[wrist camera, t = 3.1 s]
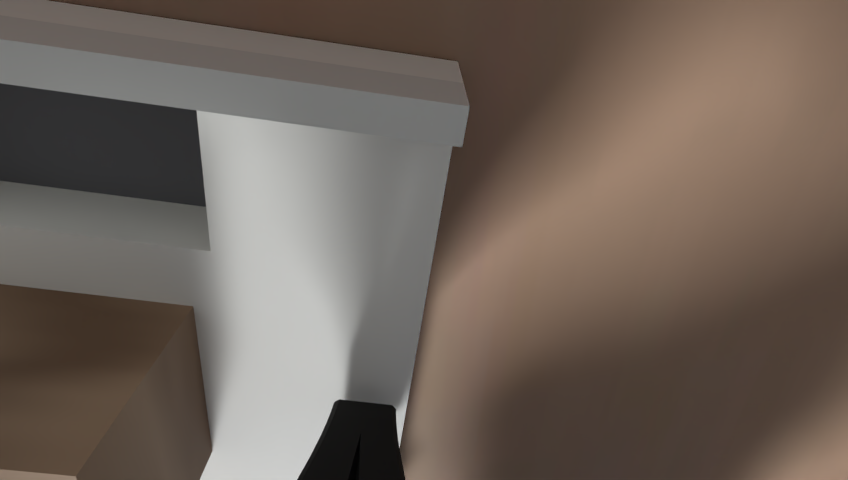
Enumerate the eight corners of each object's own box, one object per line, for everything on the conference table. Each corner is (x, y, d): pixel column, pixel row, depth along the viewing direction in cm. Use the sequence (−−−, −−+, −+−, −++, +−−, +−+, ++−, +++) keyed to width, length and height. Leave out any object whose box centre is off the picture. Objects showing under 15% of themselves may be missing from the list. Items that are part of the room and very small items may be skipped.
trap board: (457, 61, 10) (469, 106, 7) (383, 511, 18) (373, 624, 15) (-618, -99, 9) (-1188, -132, 6) (-180, 458, 17) (-316, 569, 14)
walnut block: (193, 306, 10) (76, 476, 7) (212, 451, 13) (132, 629, 10) (-96, 272, 10) (-369, 434, 7) (-20, 428, 13) (-189, 605, 9)
